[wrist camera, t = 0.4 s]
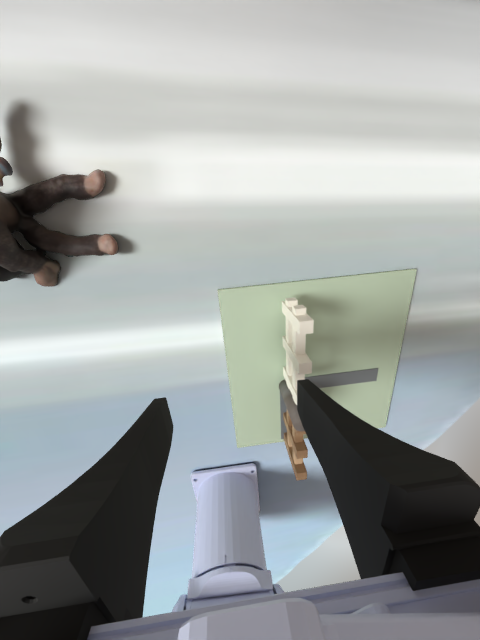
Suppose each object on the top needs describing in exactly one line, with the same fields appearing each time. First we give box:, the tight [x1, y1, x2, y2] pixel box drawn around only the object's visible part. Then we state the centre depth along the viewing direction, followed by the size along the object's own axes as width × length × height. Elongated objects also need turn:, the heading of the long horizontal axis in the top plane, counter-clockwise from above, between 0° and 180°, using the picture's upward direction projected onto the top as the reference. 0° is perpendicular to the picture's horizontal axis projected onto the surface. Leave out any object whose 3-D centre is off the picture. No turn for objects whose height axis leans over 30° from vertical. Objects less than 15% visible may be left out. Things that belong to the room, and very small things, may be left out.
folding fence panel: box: [282, 297, 314, 405], centre depth 20 cm, size 9×1×5 cm, turn 5°
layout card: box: [218, 269, 417, 448], centre depth 24 cm, size 19×18×1 cm
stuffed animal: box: [0, 139, 118, 286], centre depth 16 cm, size 12×10×12 cm
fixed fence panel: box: [279, 379, 308, 480], centre depth 23 cm, size 8×2×5 cm, turn 5°
